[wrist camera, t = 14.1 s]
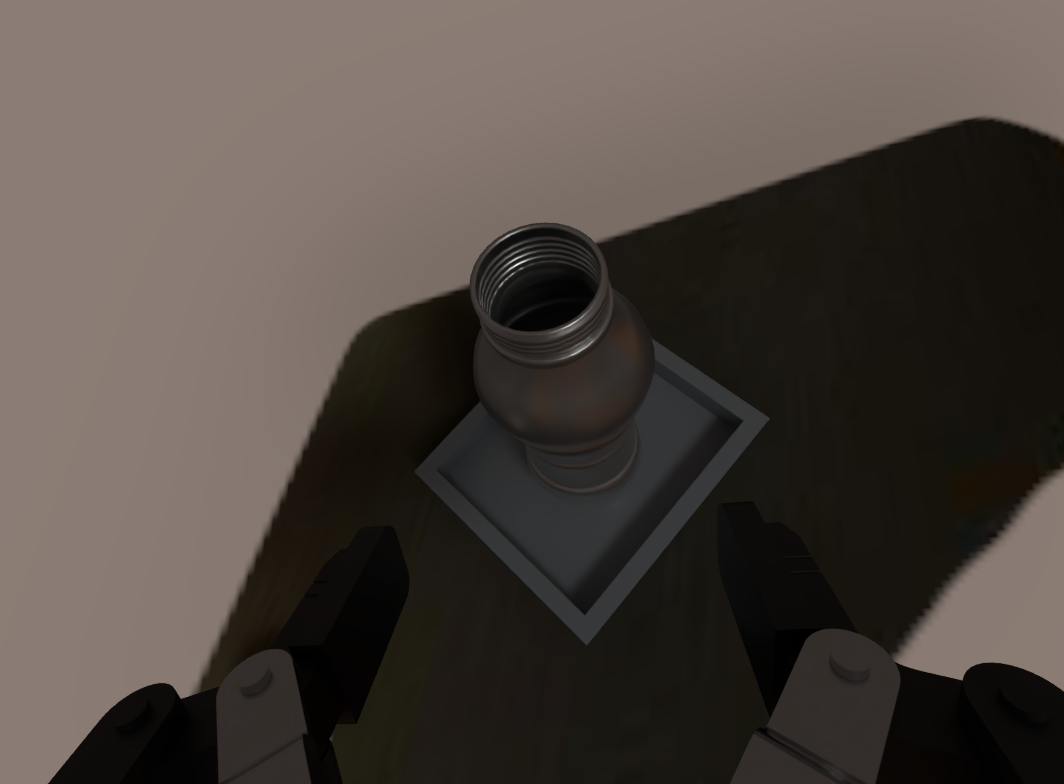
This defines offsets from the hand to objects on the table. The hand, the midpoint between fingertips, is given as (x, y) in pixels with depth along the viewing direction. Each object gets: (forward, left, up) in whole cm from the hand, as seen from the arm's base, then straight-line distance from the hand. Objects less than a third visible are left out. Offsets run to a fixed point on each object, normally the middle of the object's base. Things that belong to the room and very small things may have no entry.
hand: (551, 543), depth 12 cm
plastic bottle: (+5, +5, -18) cm, 20 cm away
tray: (+5, +5, -19) cm, 20 cm away
